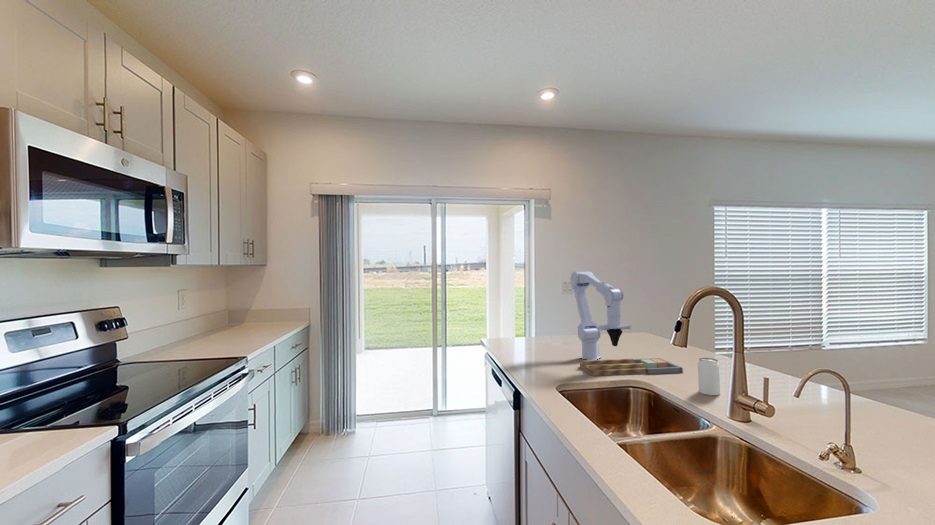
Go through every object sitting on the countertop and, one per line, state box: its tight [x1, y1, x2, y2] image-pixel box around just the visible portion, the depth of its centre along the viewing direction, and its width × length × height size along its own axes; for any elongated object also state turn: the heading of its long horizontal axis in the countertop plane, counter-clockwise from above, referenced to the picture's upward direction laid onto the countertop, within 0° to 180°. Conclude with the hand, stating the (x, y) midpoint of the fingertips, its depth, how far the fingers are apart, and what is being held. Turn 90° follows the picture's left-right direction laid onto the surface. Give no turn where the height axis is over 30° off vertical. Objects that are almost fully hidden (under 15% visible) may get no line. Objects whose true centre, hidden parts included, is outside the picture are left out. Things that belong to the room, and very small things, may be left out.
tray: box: [633, 357, 684, 375], centre depth 163 cm, size 15×16×2 cm
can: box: [697, 357, 721, 396], centre depth 131 cm, size 6×6×12 cm
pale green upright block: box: [641, 358, 657, 369], centre depth 163 cm, size 4×6×3 cm, turn 4°
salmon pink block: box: [649, 358, 667, 368], centre depth 163 cm, size 4×6×3 cm, turn 4°
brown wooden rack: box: [579, 358, 648, 377], centre depth 162 cm, size 24×14×4 cm, turn 94°
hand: (614, 345), depth 164 cm, fingers closed
